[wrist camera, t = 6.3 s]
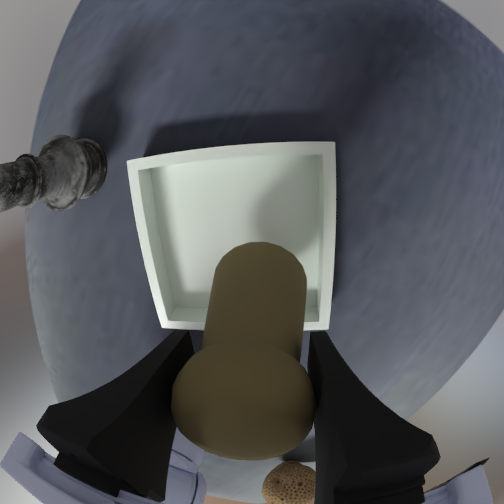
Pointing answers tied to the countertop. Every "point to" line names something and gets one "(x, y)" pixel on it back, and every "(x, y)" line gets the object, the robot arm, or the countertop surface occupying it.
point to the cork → (249, 360)
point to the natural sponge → (289, 484)
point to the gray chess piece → (53, 175)
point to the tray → (234, 219)
